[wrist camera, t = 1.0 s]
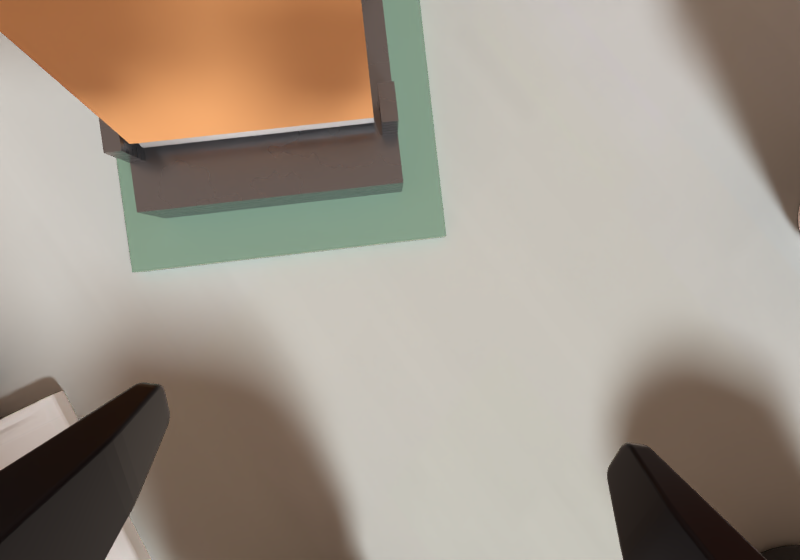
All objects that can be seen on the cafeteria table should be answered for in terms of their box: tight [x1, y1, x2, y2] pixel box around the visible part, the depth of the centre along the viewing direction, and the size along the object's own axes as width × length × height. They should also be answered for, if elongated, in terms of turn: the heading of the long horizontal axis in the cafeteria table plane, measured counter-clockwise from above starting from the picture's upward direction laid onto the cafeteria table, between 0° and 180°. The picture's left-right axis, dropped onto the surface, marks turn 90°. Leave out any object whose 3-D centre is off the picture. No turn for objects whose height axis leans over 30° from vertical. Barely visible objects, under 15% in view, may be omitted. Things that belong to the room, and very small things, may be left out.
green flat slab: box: [117, 0, 446, 272], centre depth 22 cm, size 22×16×1 cm
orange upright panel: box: [0, 0, 374, 148], centre depth 14 cm, size 2×10×11 cm, turn 94°
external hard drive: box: [0, 391, 152, 560], centre depth 23 cm, size 2×8×12 cm
